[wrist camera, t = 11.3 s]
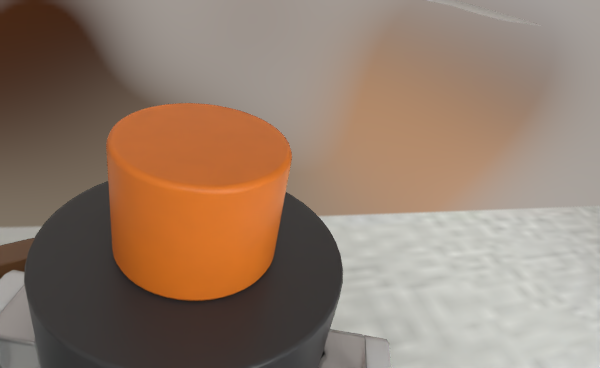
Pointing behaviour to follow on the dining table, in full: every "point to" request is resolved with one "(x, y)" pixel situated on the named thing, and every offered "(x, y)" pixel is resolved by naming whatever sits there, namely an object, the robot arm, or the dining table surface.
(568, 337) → the dining table surface
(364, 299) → the dining table surface
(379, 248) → the dining table surface
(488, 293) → the dining table surface
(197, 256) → the bottle
